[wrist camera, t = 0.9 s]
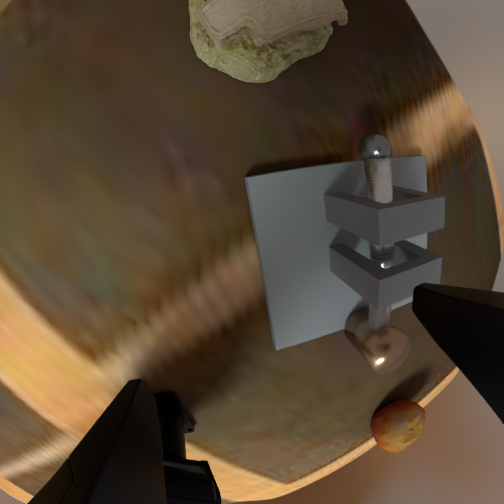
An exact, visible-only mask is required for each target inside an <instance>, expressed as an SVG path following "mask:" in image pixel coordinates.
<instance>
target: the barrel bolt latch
mask: <svg viewBox="0 0 504 504" xmlns="http://www.w3.org/2000/svg"><path fill="white" fill-rule="evenodd" d="M390 161H391V172H392V185H393V202H389V203H381V202H378V201H374V200H370V199H367V188H366V177H365V168H364V160H357V161H348V162H339V163H331V164H323V165H316V166H309V167H302V168H295V169H289V170H282V171H276V172H270V173H264V174H259V175H253V176H248V177H244V178H245V183H246V189H247V194H248V200H249V206H250V211H251V217H252V223H253V229H254V234H255V240H256V246H257V252H258V257H259V263H260V269H261V275H262V280H263V286H264V292H265V298H266V304H267V310H268V316H269V321H270V327H271V333H272V339H273V344H274V346H275V348H276V350H280V349H283V348H286V347H290V346H293V345H296V344H300V343H303V342H306V341H309V340H312V339H315V338H318V337H321V336H324V335H327V334H330V333H333V332H336V331H339V330H341V329H344V328H345V325H346V322H347V321H348V319H349V317H350V316H351V315H352V314H353V313H354V312H355V311H357V310H359V309H360V308H363V307H369V303H370V304H371V305H372V306H373V307H374V308H375V309H377V310H380V309H383V308H385V307H388V306H390V305H391V310H393V309H395V308H398V307H400V306H402V305H405V304H407V303H409V302H411V301H413V290H414V287H415V286H417V285H419V284H421V283H432V284H439V283H440V275H441V266H442V256H440V255H437V254H435V253H433V252H431V251H429V250H427V233H428V232H432V231H435V230H438V229H442V228H444V222H445V197H444V196H440V195H436V194H431V193H427V176H426V161H425V156H403V157H390ZM370 242H371V243H373V244H375V245H377V246H379V247H381V246H384V245H388V244H391V243H394V266H392V267H389V268H386V269H385V268H383V267H382V266H380V265H378V264H377V263H375V262H373V261H372V260H370Z"/></svg>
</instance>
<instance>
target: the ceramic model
mask: <svg viewBox="0 0 504 504" xmlns="http://www.w3.org/2000/svg"><path fill="white" fill-rule="evenodd" d="M189 12H190V28H191V30H190V38H191V42H192V44H193V46H194V49H195V51H196V53H197V56H198V57H199V58H200V59H201V60H202V61H203V62H204V63H206V64H207V65H209V66H210V67H214V68H217V69H218V70H219V71H222V72H224V73H227V74H229V75H230V76H232V77H234V78H237V79H238V80H242V81H245V82H252V83H254V82H255V83H266V82H269V81H272V80H274V79H275V78H276V77H277V76H278V75H279V74H280V73H281V72H282V71H283V70H286V69H287V68H288V67H289V66H290V65H291V64H293V63H294V62H296V61H297V60H300V59H302V58H305V57H309V56H311V55H314V54H316V53H318V52H319V51H321V50H323V48H324V47H325V45H326V43H327V41H328V38H329V36H330V35H331V34H332V32H333V28H332V27H331V22H332V21H336V22H337V23H338V25H346V24H347V22H348V16H347V13H348V11H347V10H346V8H345V6H344V4H343V1H342V0H189Z"/></svg>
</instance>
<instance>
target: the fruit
mask: <svg viewBox="0 0 504 504" xmlns="http://www.w3.org/2000/svg"><path fill="white" fill-rule="evenodd" d="M424 422H425V411H424V409H423V408H422V407H421V406H420V405H418V404H417V403H415V402H413V401H409V400H405V399H400V400H397V401H395V402H393V403H391V404H389V405H387V406H385V407H384V408H382V409H380V410H379V411H377V412H376V413H375V415H374V416H373V418H372V420H371V423H370V427H371V431H372V435H373V437H374V439H375V441H376V442H377V444H378V445H379V446H380V447H381V448H383V449H385V450H387V451H390V452H399V451H401V450H404V449H405V448H406V447H408V446H409V445H410V444H412V443H413V442H414V441H415V440H416V439H417V438H418V436H419V435H420V432H421V430H422V429H423V425H424Z"/></svg>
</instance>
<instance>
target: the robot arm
mask: <svg viewBox="0 0 504 504" xmlns="http://www.w3.org/2000/svg"><path fill="white" fill-rule="evenodd" d="M412 310H413V313H414V314H415V316H416V317H417V318H418V320H419V321H420V322H421V323H422V325H423V326H424V327H425V329H426V330H427V331H428V333H429V334H430V335H431V337H432V338H433V339H434V341H435V342H436V343H437V344H438V346H439V347H440V348H441V349H442V350H443V351H444V352H445V353H446V355H447V356H448V357H449V358H450V359H451V360H452V361H453V362H454V364H455V365H456V366H457V367H458V368H459V369H460V371H462V373H463V374H464V375H465V376H466V378H467V379H468V380H469V381H470V382H471V383H472V385H473V386H474V387H475V388H476V390H477V391H478V392H479V393H480V394H481V396H482V397H483V398H484V399H485V401H486V402H487V403H488V405H489V406H490V407H491V408H492V410H493V411H494V412H495V414H496V415H497V416H498V417H499V419H500V420H501V421H502V423H503V424H504V293H503V292H495V291H487V290H479V289H471V288H463V287H455V286H448V285H440V284H432V283H421V284H419V285H417V286H415V287H414V290H413V301H412ZM170 396H172V397H170ZM194 430H195V429H194V425H193V424H192V422H191V420H190V418H189V417H188V415H187V413H186V411H185V409H184V407H183V406H182V404H181V402H180V400H179V398H178V396H177V394H176V393H174V392H165V393H159V394H152V393H151V391H150V389H149V388H148V386H147V385H146V383H145V381H144V380H143V379H141V378H139V379H134V380H130V381H128V382H127V384H126V385H125V386H124V387H123V389H122V390H121V391H120V392H119V394H118V395H117V396H116V397H115V399H114V400H113V401H112V402H111V403H110V405H109V406H108V407H107V409H106V410H105V411H104V412H103V414H102V415H101V416H100V417H99V419H98V420H97V421H96V422H95V424H94V425H93V426H92V427H91V429H90V430H89V431H88V432H87V434H86V435H85V436H84V438H83V439H82V440H81V441H80V443H79V444H78V445H77V446H76V448H75V449H74V450H73V452H72V453H71V454H70V455H69V459H68V458H67V459H66V460H65V462H64V463H63V464H62V466H61V467H60V468H59V469H58V471H57V472H56V473H55V474H54V475H53V477H52V478H51V479H50V480H49V481H48V482H47V483H46V484H45V486H44V487H43V488H42V489H41V490H40V491H39V492H38V493H37V494H36V495H35V496H34V497H33V498H32V499H31V500H30V501H29V502H28V503H27V504H221V495H220V491H219V489H218V486H217V484H216V481H215V479H214V476H213V474H212V471H211V469H210V466H209V464H208V461H203V460H201V461H196V460H189V459H186V449H185V435H184V433H191V432H194Z"/></svg>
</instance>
